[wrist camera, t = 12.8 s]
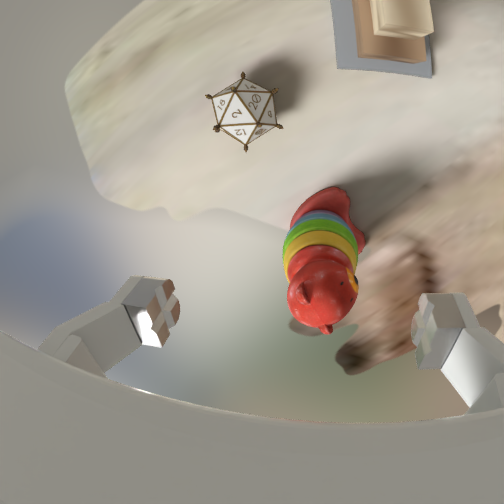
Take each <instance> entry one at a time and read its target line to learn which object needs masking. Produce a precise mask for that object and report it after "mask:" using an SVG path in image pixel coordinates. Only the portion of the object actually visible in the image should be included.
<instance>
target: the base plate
mask: <svg viewBox="0 0 504 504" xmlns="http://www.w3.org/2000/svg"><path fill="white" fill-rule="evenodd" d="M330 2H331V9H332V17H333V26H334V36H335V47H336V59H337V69H351V70H366V71H378V72H388V73H397V74H404V75H411V76H418V77H424V78H432V67H431V52H430V40H429V34H428V35H426V36H424V37H425V48H426V61H425V62H420V63H415V64H411V63H404V62H397V61H389V60H379V59H368V58H358V54H357V42H356V32H355V23H354V14H353V7H352V0H330Z"/></svg>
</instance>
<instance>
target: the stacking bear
mask: <svg viewBox="0 0 504 504" xmlns="http://www.w3.org/2000/svg"><path fill="white" fill-rule="evenodd" d="M349 207H350V198H349V197H348V196H347V195H346V191H344V190H340V189H339V188H337V187H331V188H328V189H325V190H322V191H320V192H318V193H316V194H314V195H313V196H311V197H310V198H308V199H307V200H306V201H305V202H304V203H303V204H302V205H301V206H300V207H299V208H298V210H297V211H296V212H295V214H294V216H293V218H292V220H291V224H290V230H289V232H288V234H287V236H286V239H285V242H284V246H283V264H284V270H285V274H286V278H287V280H288V282H289V283H290V284H289V287H288V293H287V301H288V306H289V309H290V311H291V313H292V314H293V316H294V317H295V318H296V319H297V320H298V321H299V322H301V323H303V324H305V325H307V326H311V327H318V328H319V329H320V331H321V332H322V333H324V334H331V333H332V332H333V329H332V328H333V327H332V325H333V324H335V323H337V322H339V321H340V320H341V319H343V318H344V317H345V316H346V315H347V313H348V312H349V311H350V310H351V308H352V307H353V305H354V303H355V301H356V298H357V295H358V280H357V278H356V276H355V275H354V274H355V270H356V266H357V262H358V254H360V253H361V252H362V250H363V248H364V247H365V239H364V234H363V233H362V232H361V231H360V230H359V229H357V228H356V227H355V226H354V225H353V224H352V222H351V220H350V217H349Z"/></svg>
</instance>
